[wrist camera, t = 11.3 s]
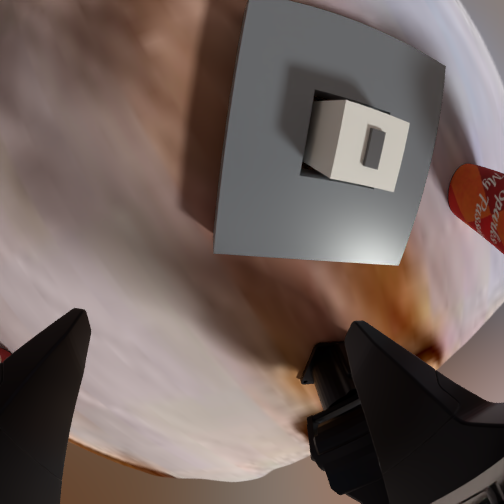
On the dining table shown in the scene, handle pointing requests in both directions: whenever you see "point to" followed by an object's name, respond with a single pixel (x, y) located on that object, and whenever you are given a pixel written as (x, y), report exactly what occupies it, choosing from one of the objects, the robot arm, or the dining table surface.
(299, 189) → the socket plate
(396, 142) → the block
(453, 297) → the dining table surface
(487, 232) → the paper cup
